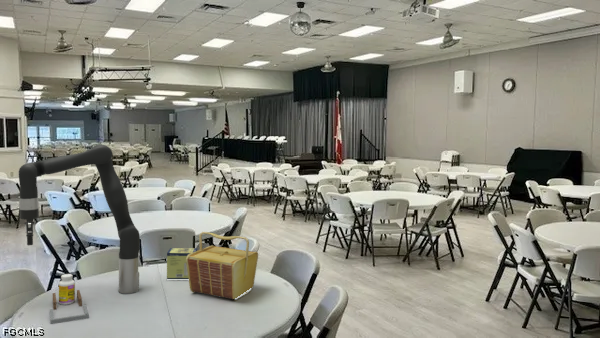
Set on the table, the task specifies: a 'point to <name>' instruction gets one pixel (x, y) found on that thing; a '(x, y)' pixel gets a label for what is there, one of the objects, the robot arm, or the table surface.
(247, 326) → the table surface
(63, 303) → the supplement bottle
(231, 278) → the picnic basket
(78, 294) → the walnut dock
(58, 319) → the grey flat square frame
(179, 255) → the protein box
